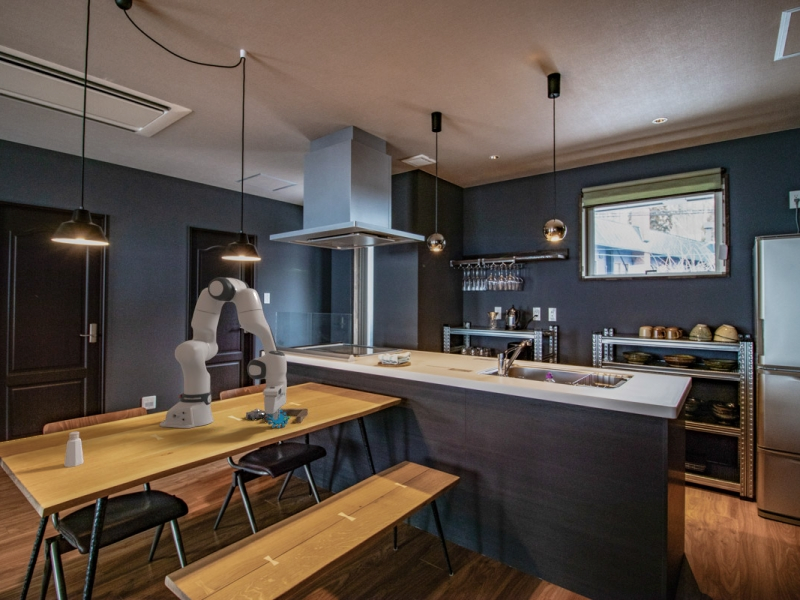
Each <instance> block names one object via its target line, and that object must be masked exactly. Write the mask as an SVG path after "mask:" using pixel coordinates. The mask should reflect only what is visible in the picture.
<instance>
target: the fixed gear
mask: <svg viewBox="0 0 800 600" xmlns="http://www.w3.org/2000/svg"><path fill="white" fill-rule="evenodd" d="M266 415H267V414H266V413H265V410H263V409H260V408H255V409H254V410H251V411H247V412H246V413H245V420H246V419H252V420H255V419H263V418H264V416H266ZM252 420H251V421H252ZM263 420H264V419H263ZM255 421H256V420H255Z"/></svg>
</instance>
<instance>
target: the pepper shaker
mask: <svg viewBox="0 0 800 600" xmlns="http://www.w3.org/2000/svg"><path fill="white" fill-rule="evenodd" d="M68 435H69V436H68V438H69V439H68V440H67V443H66V450H65V455H64V457H65V458H64V467H65V468H72V467H77V466H80V465H83V463H84V462H85V461H84V453H83V445H82V444H83V443H82V439H81V438H80V431H72V432H70V433H68Z"/></svg>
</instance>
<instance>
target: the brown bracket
mask: <svg viewBox="0 0 800 600" xmlns="http://www.w3.org/2000/svg"><path fill="white" fill-rule="evenodd" d="M280 410H283V412H282V413H280V414H283V413H285V412H286V414H287V415H297V416H296V418H295V419H296V422H295V423H297V424H301V423H302V422H303V419H304V420H305V419H306V417H308V416H309V414H308V413H309V411H308V410H309V409H308V408H280ZM270 415H272V414H270ZM267 417H269V416H267V415H266V416H264V419H263V420H264V421H263V423H264V422H269V421H270V420H266V418H267ZM269 418H270V417H269ZM270 419H271V418H270Z"/></svg>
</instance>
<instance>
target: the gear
mask: <svg viewBox="0 0 800 600" xmlns="http://www.w3.org/2000/svg"><path fill="white" fill-rule="evenodd" d="M282 412H283V410H280V413H282ZM280 413H279V418H278V419H277V420H273V414H272V415H270V414H267V416H269V417H270V418H271V419H270V418H269V417H267V418H266V420H270V421H269V422H268V423H267V424H268V425H269V426H270V425H271V427H272V429H274V428H275V427H276V428H277V429H278V428H285V427H286V425H287V424H288V423H289V421H288V420H290V419H291V416H286V415H287V414H286V412H285V413H283V414H280ZM283 415H284V416H283Z"/></svg>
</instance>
